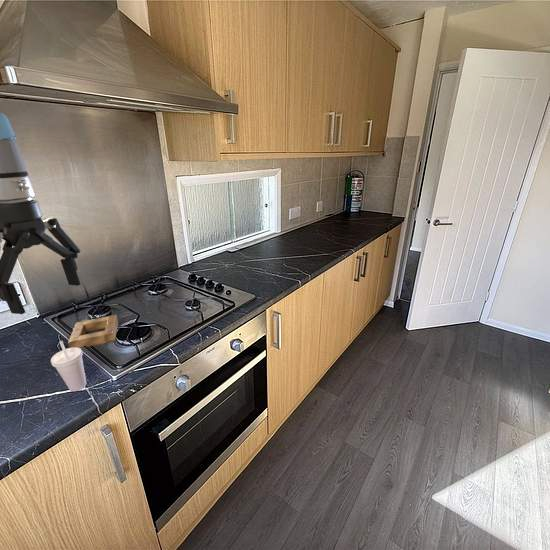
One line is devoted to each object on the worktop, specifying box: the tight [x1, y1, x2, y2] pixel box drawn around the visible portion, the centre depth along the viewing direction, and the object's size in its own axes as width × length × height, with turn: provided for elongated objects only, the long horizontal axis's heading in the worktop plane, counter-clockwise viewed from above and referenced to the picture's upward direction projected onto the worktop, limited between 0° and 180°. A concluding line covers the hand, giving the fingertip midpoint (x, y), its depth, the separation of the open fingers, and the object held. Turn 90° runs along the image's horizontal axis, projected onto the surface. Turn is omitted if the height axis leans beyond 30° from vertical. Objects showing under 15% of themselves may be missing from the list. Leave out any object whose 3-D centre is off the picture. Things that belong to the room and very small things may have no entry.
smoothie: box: [50, 340, 87, 392], centre depth 72 cm, size 6×6×14 cm
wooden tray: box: [67, 314, 119, 349], centre depth 95 cm, size 12×12×3 cm
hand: (49, 297), depth 65 cm, fingers open, 13 cm apart
